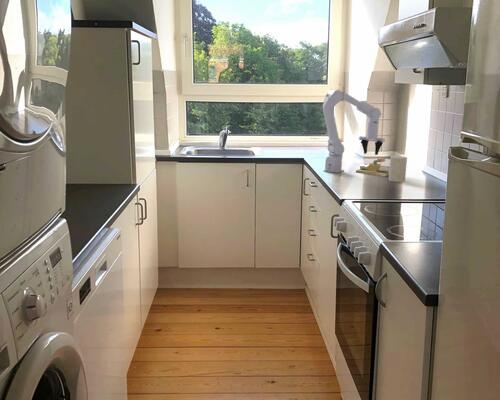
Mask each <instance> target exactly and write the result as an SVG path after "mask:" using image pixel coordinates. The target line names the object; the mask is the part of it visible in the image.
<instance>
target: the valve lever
mask: <svg viewBox="0 0 500 400" xmlns="http://www.w3.org/2000/svg"><path fill="white" fill-rule="evenodd" d="M384 162H386V158H385V157H384V158H383V157H381V158H377V159H374V160H372V163H373V164H378V163H384Z"/></svg>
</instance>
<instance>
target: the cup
mask: <svg viewBox="0 0 500 400" xmlns="http://www.w3.org/2000/svg"><path fill="white" fill-rule="evenodd" d="M407 161H408V157H407V156H400V155H391V156H390V158H389V175H388V181H390V182H396V183H403V182H406V174H407V164H408V163H407Z"/></svg>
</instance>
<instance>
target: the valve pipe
mask: <svg viewBox="0 0 500 400" xmlns="http://www.w3.org/2000/svg"><path fill="white" fill-rule="evenodd" d="M359 169H362V170H367V171H373V172H385V173H389V169H390V167H386V166H383V165H381V163H380V164H379V163H377V164H373V162H372V163H369V164H360V165H359Z"/></svg>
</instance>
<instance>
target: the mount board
mask: <svg viewBox="0 0 500 400" xmlns="http://www.w3.org/2000/svg"><path fill="white" fill-rule="evenodd" d="M355 173H359V174H364V175H365V174H366V175H374V176H380V177H389V173H385V172H373V171H367V170H362V169H360V168H359V169H356V170H355Z"/></svg>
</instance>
